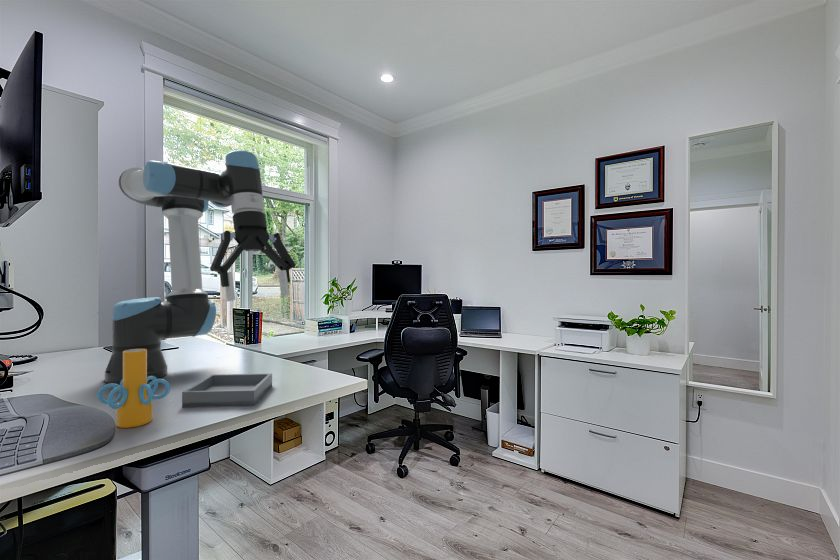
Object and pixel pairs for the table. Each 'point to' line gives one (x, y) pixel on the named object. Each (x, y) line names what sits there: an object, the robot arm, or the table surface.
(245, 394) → the tray
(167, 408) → the table surface
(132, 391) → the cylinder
